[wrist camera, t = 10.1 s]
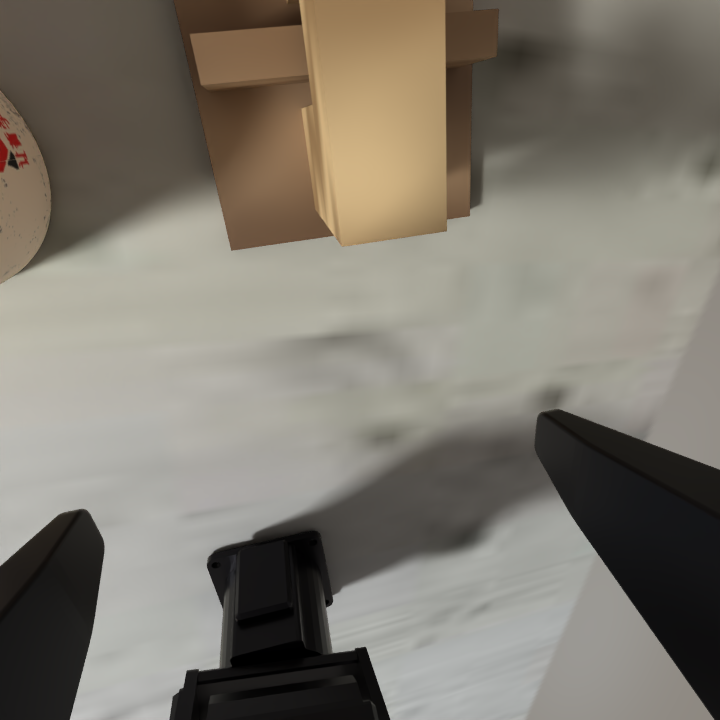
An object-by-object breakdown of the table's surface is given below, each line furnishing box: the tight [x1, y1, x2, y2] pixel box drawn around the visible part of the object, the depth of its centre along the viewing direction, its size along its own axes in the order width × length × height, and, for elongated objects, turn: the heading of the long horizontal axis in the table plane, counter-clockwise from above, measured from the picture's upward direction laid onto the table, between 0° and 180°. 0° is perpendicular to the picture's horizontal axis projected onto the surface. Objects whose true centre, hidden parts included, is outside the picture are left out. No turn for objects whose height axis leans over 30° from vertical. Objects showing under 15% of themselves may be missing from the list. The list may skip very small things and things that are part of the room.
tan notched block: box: [286, 0, 447, 247], centre depth 13 cm, size 10×3×6 cm, turn 5°
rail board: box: [174, 0, 499, 251], centre depth 15 cm, size 12×10×4 cm
